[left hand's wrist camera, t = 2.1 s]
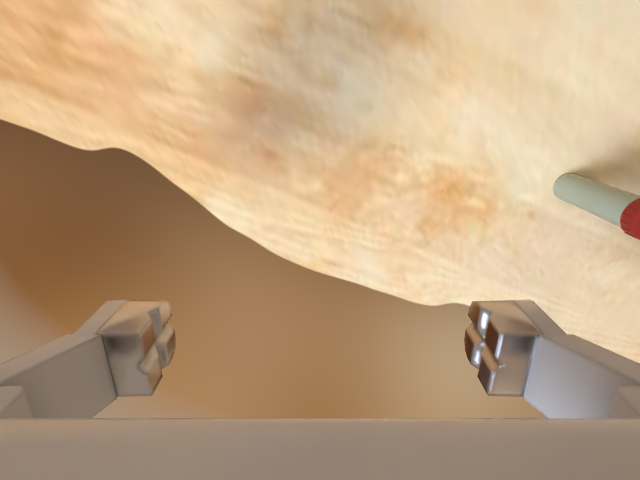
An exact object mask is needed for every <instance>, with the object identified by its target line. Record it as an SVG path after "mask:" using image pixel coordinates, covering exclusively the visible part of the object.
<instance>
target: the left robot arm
mask: <svg viewBox="0 0 640 480" xmlns="http://www.w3.org/2000/svg"><path fill="white" fill-rule="evenodd" d="M171 316H172V314H171V309H170V305H169V303H168V302H167V301H144V300H110V301H106V302H105V303H104V304H103V305H102V306H101V307H100V308H99V309H98V310H97V311H96V312H95V313H94V314H93V315H92V316H91V317H90V318H89V319H88V320H87V321H86V322H85V323H84V324H83V325H82V326H81V327H80V328H79V329H78V330H77V331H76V332H75V333H74V334H73V335H65V336H62V337H60V338H58V339H56V340H53V341H51V342H49V343H46V344H44V345H42V346H40V347H37V348H35V349H33V350H30V351H28V352H26V353H24V354H21V355H19V356H17V357H14V358H12V359H10V360H8V361H5V362H3V363H1V364H0V480H640V364H639V363H637V362H635V361H632V360H630V359H628V358H625V357H623V356H621V355H619V354H616V353H614V352H612V351H609V350H607V349H605V348H603V347H600V346H598V345H596V344H593V343H591V342H589V341H587V340H584V339H582V338H580V337H578V336H575V335H567V334H566V333H565V332H564V331H563V330H562V329H561V328H560V327H559V326H558V325H557V324H556V323H555V322H554V321H553V320H552V319H551V318H550V317H549V316H548V315H547V314H546V313H545V312H544V311H543V310H542V309H541V308H540V307H539V306H538V305H537V304H536V303H535V302H534V301H531V300H508V301H474V302H472V303H471V305H470V308H469V314H468V316H469V317H470V319H471V320H472V322H473V323H472V324H471V325H470V326H469V327H468V328H467V329H466V332H465V340H464V341H465V351H466V354H467V358H468V360H469V361H470V363H471V365H473V366H474V367H476V368H477V369H479V372H478V378H479V380H480V382H481V384H482V385H483V387H484V389H485V391H486V393H487V394H488V396H515V397H523V399H525V400H526V401H527V402H528V403H530V404H531V405H532V406H533V407H535V408H536V409H537V410H539V411H540V412H541V413H542V414H544V415H545V416H546V417H548V418H93V417H94V416H95V415H96V414H98V413H99V412H100V411H102V410H103V409H104V408H105V407H107V406H108V405H109V404H111V403H112V402H113V401H114V400H116V399H117V397H124V396H152V394H153V393H154V391H155V389H156V387H157V385H158V384H159V382H160V380H161V378H162V372H161V369H163V368H164V367H166V366H167V365H169V363H170V361H171V359H172V357H173V354H174V350H175V332H174V329H173V328H172V327H171V326H170V325H169V324H168V323H167V322H168V320H169V319H170V317H171Z"/></svg>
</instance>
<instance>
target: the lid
mask: <svg viewBox="0 0 640 480" xmlns="http://www.w3.org/2000/svg"><path fill="white" fill-rule="evenodd" d="M620 225H621V228H622V229H623V231H624V233H626V234H628V235H630V236H633V237H635V238H637V239H639V240H640V198H638V199H636V200H634V201H632V202H631V203H630V204H629V205H628V206H627V207H626V208H625V209H624V210H623V212H622V214H621V218H620Z"/></svg>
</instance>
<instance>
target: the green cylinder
mask: <svg viewBox="0 0 640 480" xmlns="http://www.w3.org/2000/svg"><path fill="white" fill-rule="evenodd" d="M554 194H555V195H556V196H557V197H558V198H560V199H562V200H564V201H566V202H568V203H570V204H573V205H575V206H577V207H579V208H581V209H583V210H585V211H588V212H590V213H592V214H594V215H596V216H598V217H600V218H603V219H605V220H607V221H609V222H611V223H613V224H615V225H618V226H620V227H621V225H620V218H621V214H622V212H623V210H624V209H625V208H626V207H627V206H628V205H629V204H630V203H631V202H632V201H634V200H636V199H638V198H640V196H638V195H635V194H632V193H629V192H626V191H623V190H620V189H617V188H615V187H612V186H609V185H606V184H603V183H600V182H597V181H594V180H591V179H588V178H585V177H582V176H580V175H577V174H574V173H567V174H564V175H562V176H561V177H559V178H558V179H557V181H556V182H555V184H554Z"/></svg>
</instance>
